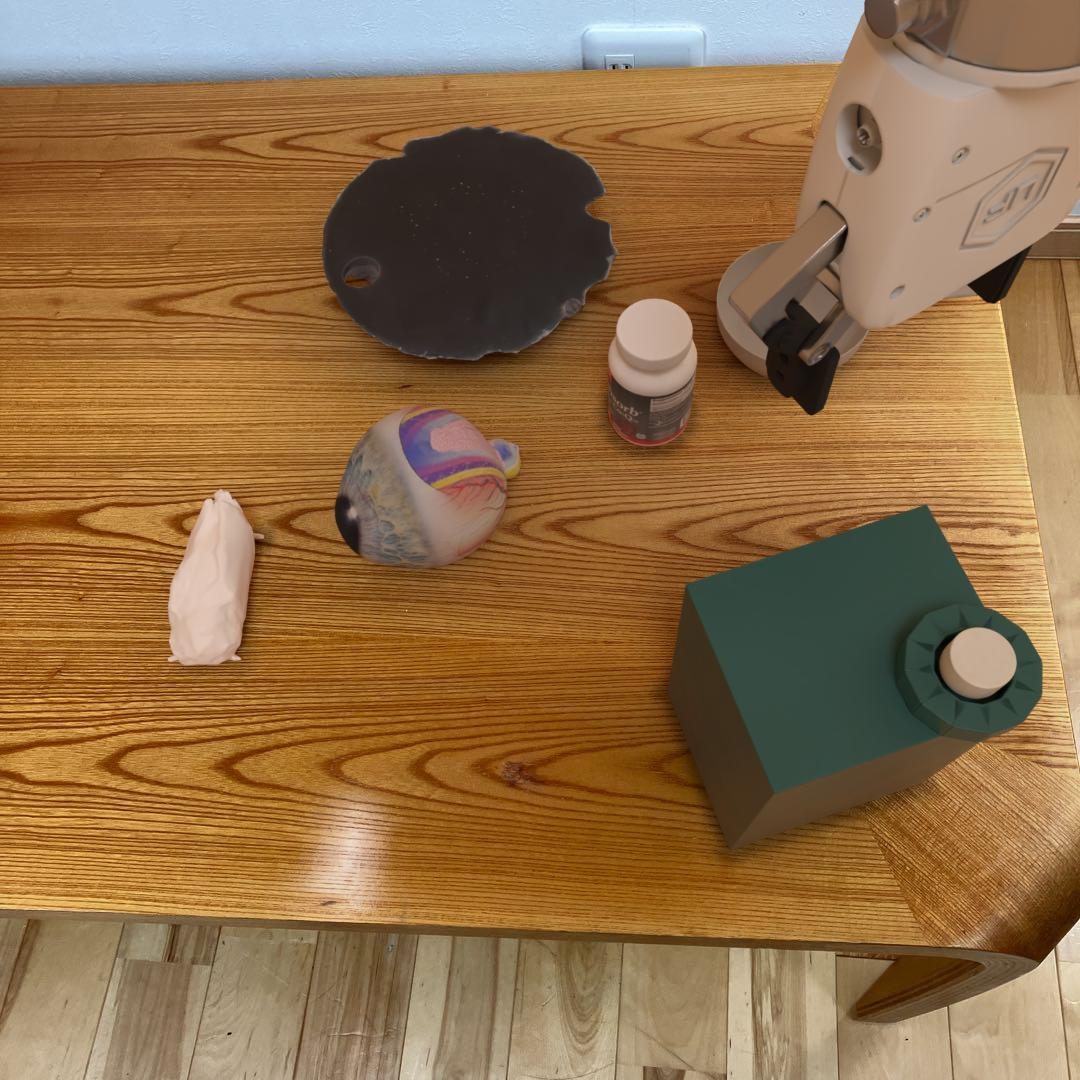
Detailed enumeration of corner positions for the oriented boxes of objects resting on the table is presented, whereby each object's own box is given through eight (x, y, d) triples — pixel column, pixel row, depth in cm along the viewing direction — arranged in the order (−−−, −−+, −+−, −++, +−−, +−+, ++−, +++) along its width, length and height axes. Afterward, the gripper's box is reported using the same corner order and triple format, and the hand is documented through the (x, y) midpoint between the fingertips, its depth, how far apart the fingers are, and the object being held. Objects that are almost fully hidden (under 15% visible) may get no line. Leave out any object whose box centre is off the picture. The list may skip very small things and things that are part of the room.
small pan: (704, 277, 74) (709, 242, 70) (949, 260, 73) (966, 223, 70) (720, 399, 69) (726, 368, 66) (982, 382, 69) (1001, 349, 65)
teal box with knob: (850, 628, 62) (942, 485, 45) (932, 794, 57) (1069, 706, 40) (666, 691, 61) (687, 569, 44) (734, 864, 56) (788, 805, 39)
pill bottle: (593, 401, 70) (590, 313, 61) (663, 368, 71) (670, 276, 62) (633, 463, 68) (636, 381, 59) (705, 427, 69) (719, 341, 60)
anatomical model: (339, 483, 69) (297, 405, 60) (512, 436, 69) (496, 352, 60) (366, 611, 65) (325, 548, 55) (549, 560, 65) (538, 489, 56)
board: (299, 381, 73) (277, 339, 68) (372, 159, 81) (357, 108, 77) (596, 416, 70) (595, 374, 65) (639, 182, 78) (640, 130, 74)
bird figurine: (195, 551, 69) (162, 675, 62) (179, 485, 63) (141, 613, 57) (268, 556, 69) (242, 679, 63) (258, 491, 64) (229, 619, 58)
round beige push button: (983, 631, 42) (996, 618, 41) (1015, 687, 41) (1029, 676, 40) (927, 650, 42) (938, 638, 40) (957, 707, 41) (969, 697, 39)
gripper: (867, 173, 24) (777, 499, 40) (1368, -114, 27) (1102, 295, 42) (685, 11, 27) (667, 372, 43) (1153, -232, 30) (977, 190, 45)
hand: (884, 334), depth 42 cm, fingers open, 9 cm apart
